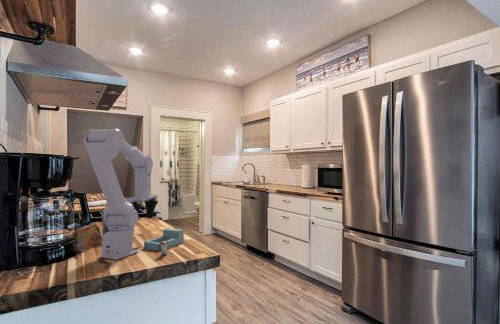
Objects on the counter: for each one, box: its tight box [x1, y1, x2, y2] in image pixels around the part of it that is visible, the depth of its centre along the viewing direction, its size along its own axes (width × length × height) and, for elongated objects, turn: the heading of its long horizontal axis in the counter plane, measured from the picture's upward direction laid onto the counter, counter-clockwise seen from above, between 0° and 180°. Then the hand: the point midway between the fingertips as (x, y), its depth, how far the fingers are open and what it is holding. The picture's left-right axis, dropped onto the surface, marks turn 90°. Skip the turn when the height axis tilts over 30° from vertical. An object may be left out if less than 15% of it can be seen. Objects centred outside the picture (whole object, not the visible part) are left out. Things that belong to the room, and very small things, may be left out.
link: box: [143, 227, 185, 252], centre depth 111 cm, size 13×8×5 cm, turn 156°
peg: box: [160, 241, 168, 257], centre depth 99 cm, size 2×2×5 cm
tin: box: [71, 224, 101, 253], centre depth 107 cm, size 15×3×8 cm, turn 179°
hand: (142, 219), depth 115 cm, fingers open, 7 cm apart
